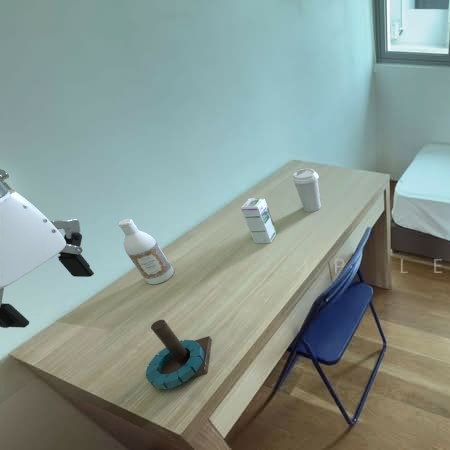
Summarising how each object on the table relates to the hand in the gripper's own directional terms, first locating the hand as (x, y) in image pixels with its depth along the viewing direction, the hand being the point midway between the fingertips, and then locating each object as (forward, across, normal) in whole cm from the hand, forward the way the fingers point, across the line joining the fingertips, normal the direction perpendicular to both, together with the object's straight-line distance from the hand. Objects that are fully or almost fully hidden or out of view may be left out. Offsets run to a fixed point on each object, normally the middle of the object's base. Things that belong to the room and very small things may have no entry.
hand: (54, 298), depth 45 cm
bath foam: (+29, -34, -24) cm, 51 cm away
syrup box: (+29, -54, 0) cm, 61 cm away
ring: (+28, -7, +2) cm, 29 cm away
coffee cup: (+29, -74, +10) cm, 80 cm away
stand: (+30, -8, +2) cm, 31 cm away
